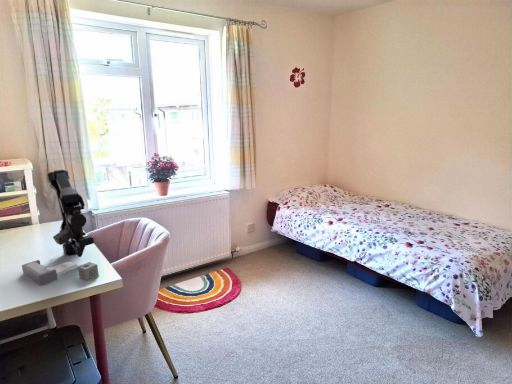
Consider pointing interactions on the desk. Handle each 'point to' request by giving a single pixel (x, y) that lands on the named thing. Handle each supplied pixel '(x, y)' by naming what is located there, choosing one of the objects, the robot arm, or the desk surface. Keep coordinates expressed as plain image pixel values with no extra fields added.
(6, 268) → the desk surface
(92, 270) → the dice cube
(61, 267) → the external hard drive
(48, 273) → the dock
